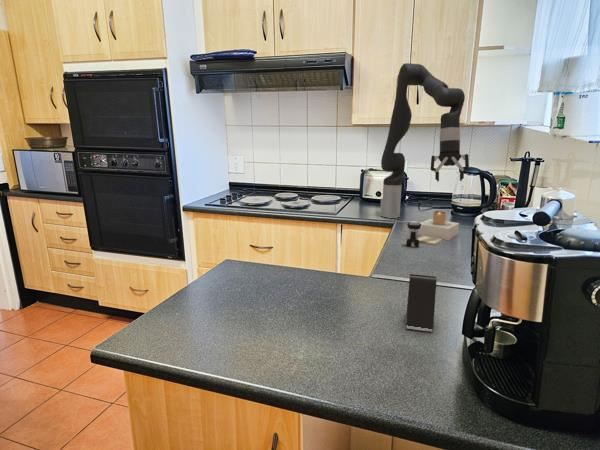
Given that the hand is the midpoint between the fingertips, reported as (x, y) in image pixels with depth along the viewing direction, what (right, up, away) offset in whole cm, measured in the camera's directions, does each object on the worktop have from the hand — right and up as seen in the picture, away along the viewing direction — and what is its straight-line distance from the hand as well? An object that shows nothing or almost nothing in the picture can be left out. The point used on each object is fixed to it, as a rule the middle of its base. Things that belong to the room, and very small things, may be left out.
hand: (449, 181), depth 156 cm
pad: (-7, -24, +5) cm, 26 cm away
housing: (+1, -22, +15) cm, 27 cm away
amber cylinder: (+1, -22, +15) cm, 27 cm away
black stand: (-16, -26, -2) cm, 31 cm away
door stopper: (-31, -42, -62) cm, 81 cm away
